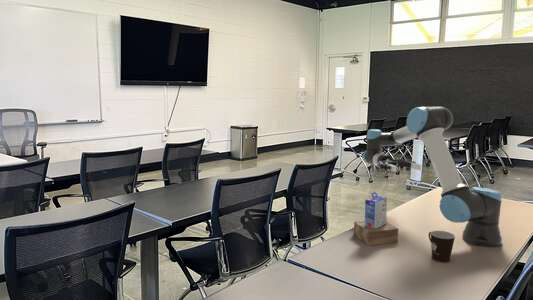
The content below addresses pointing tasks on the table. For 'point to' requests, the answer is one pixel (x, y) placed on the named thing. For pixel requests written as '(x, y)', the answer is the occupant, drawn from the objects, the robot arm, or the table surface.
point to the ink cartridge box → (375, 211)
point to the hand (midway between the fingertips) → (408, 168)
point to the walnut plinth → (376, 233)
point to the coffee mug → (441, 245)
